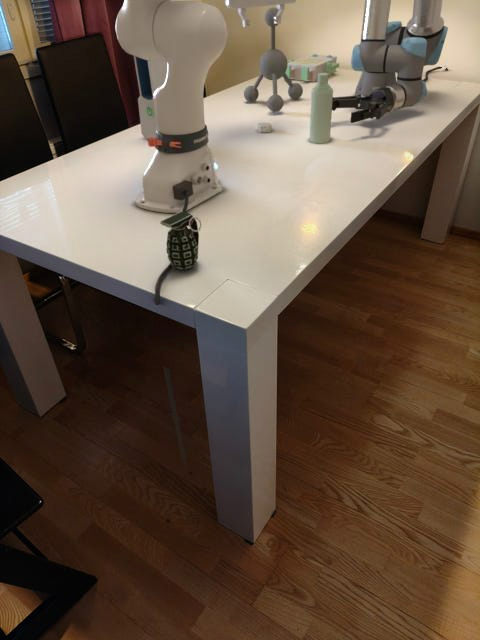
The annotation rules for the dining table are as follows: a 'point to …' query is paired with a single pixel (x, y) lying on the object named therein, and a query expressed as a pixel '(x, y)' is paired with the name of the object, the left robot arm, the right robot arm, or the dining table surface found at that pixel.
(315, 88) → the bottle
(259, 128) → the cap
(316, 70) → the decorative block
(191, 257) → the grenade
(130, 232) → the dining table surface
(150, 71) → the electronic device
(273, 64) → the molecular model
